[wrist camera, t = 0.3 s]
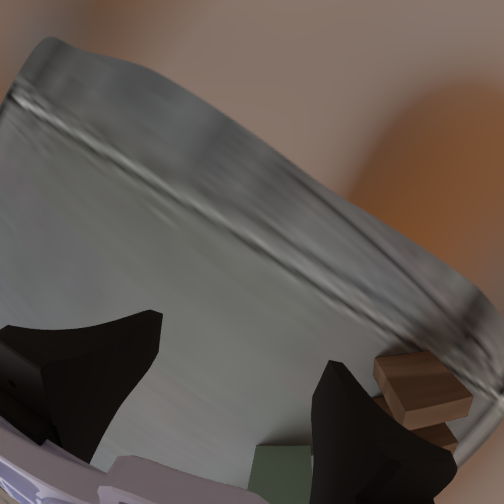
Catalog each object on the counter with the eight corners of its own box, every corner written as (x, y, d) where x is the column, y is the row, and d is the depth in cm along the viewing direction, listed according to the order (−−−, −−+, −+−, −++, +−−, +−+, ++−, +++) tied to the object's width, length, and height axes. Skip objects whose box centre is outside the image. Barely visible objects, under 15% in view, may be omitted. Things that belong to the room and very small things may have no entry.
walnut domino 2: (418, 404, 22) (451, 457, 14) (368, 412, 22) (389, 473, 14) (422, 390, 22) (458, 442, 14) (370, 398, 22) (394, 458, 14)
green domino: (309, 456, 23) (311, 518, 16) (256, 456, 24) (245, 518, 16) (310, 445, 23) (312, 508, 15) (256, 445, 24) (243, 508, 16)
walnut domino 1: (426, 367, 21) (467, 415, 14) (373, 374, 22) (401, 431, 14) (428, 350, 21) (473, 395, 13) (374, 357, 22) (405, 411, 14)
